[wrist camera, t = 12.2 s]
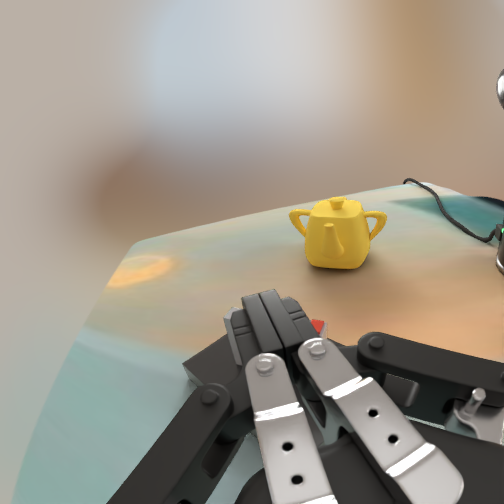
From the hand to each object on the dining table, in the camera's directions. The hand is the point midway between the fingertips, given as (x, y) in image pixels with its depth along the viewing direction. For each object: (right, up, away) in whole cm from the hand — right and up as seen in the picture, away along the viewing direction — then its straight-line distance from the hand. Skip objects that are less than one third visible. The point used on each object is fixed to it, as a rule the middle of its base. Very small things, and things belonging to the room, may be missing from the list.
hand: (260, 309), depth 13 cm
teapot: (+14, +1, +34) cm, 37 cm away
